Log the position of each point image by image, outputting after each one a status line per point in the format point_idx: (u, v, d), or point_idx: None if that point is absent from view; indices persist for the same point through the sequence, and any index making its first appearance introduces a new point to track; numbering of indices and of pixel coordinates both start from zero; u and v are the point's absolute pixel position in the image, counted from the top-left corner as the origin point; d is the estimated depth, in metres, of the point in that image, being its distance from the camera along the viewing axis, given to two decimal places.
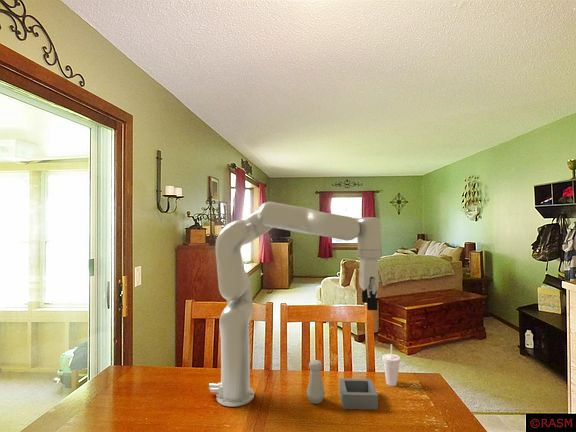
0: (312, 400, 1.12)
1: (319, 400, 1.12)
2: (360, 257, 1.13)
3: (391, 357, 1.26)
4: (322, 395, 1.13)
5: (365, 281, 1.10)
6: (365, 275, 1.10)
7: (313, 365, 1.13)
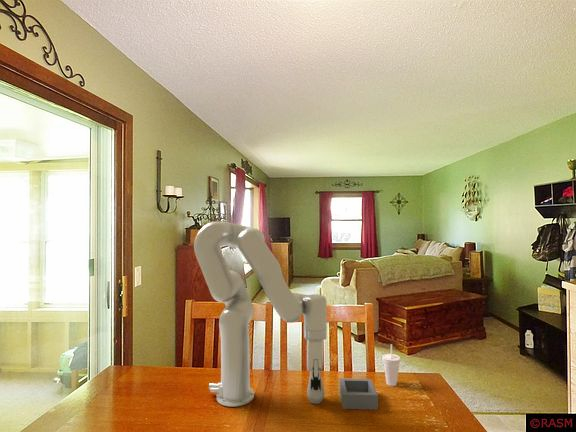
0: (312, 400, 1.12)
1: (319, 400, 1.12)
2: (305, 337, 1.13)
3: (391, 357, 1.26)
4: (322, 395, 1.13)
5: (309, 363, 1.10)
6: (309, 357, 1.10)
7: None
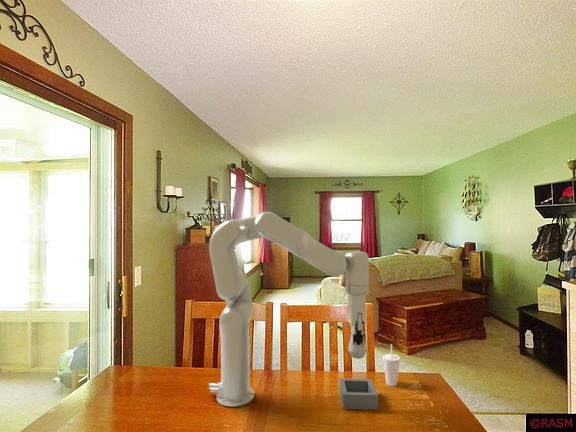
0: (355, 355, 1.13)
1: (361, 355, 1.13)
2: (348, 292, 1.13)
3: (391, 357, 1.26)
4: (364, 350, 1.13)
5: (352, 317, 1.10)
6: (352, 311, 1.10)
7: None
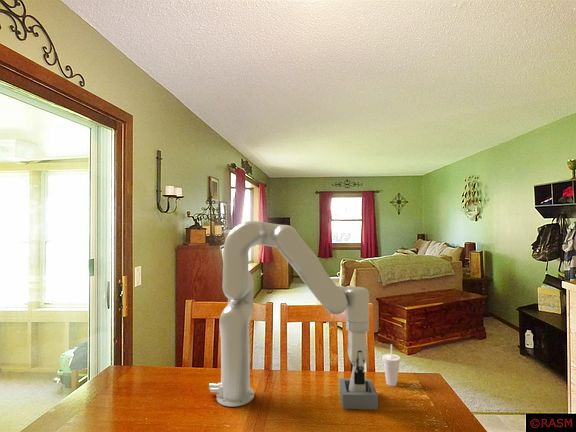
0: None
1: None
2: (348, 328, 1.13)
3: (391, 357, 1.26)
4: (364, 391, 1.13)
5: (353, 354, 1.10)
6: (353, 348, 1.10)
7: (356, 361, 1.13)
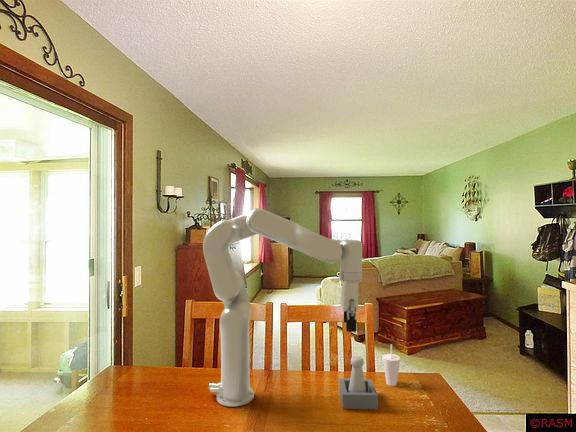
0: None
1: None
2: (341, 279, 1.16)
3: (391, 357, 1.26)
4: (364, 391, 1.13)
5: (345, 303, 1.13)
6: (345, 297, 1.13)
7: (356, 362, 1.13)
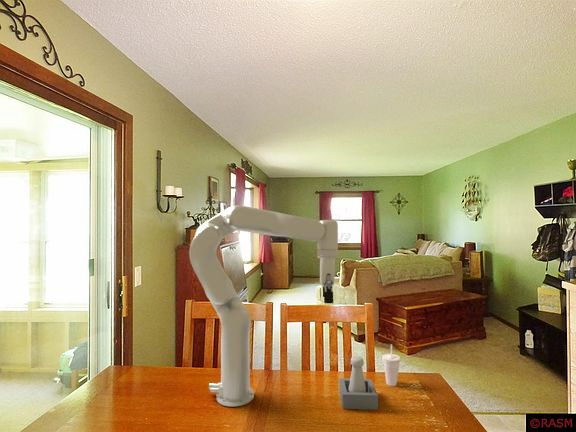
0: None
1: None
2: (319, 256, 1.26)
3: (391, 357, 1.26)
4: (364, 391, 1.13)
5: (322, 277, 1.23)
6: (322, 272, 1.23)
7: (356, 362, 1.13)
